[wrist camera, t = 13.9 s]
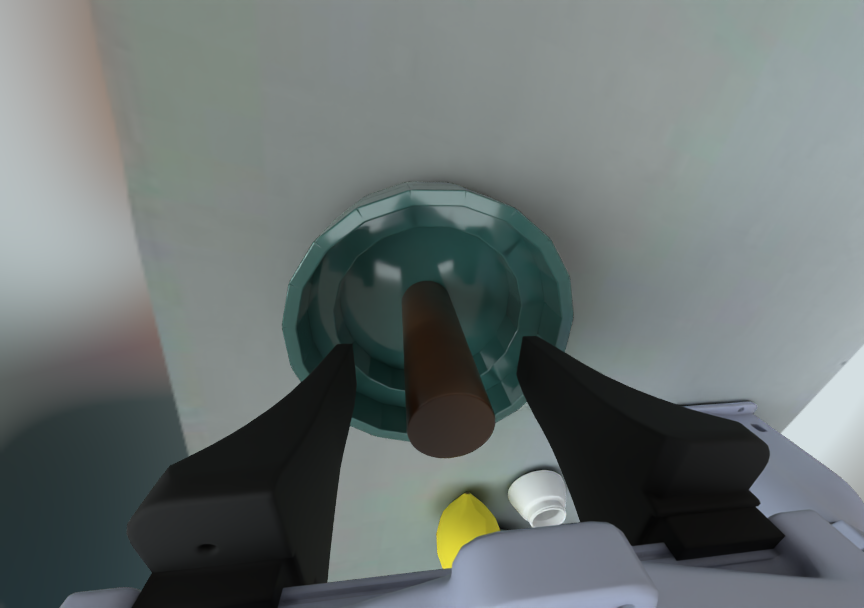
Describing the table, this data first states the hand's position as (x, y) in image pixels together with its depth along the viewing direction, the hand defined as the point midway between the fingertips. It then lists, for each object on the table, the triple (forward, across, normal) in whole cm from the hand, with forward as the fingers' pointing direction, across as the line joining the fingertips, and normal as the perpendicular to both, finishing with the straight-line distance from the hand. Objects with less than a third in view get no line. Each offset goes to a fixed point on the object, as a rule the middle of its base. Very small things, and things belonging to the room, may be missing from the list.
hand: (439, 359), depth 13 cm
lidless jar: (+6, -10, +19) cm, 22 cm away
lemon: (+1, -4, +19) cm, 19 cm away
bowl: (+6, 0, 0) cm, 6 cm away
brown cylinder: (+5, 0, 0) cm, 5 cm away
